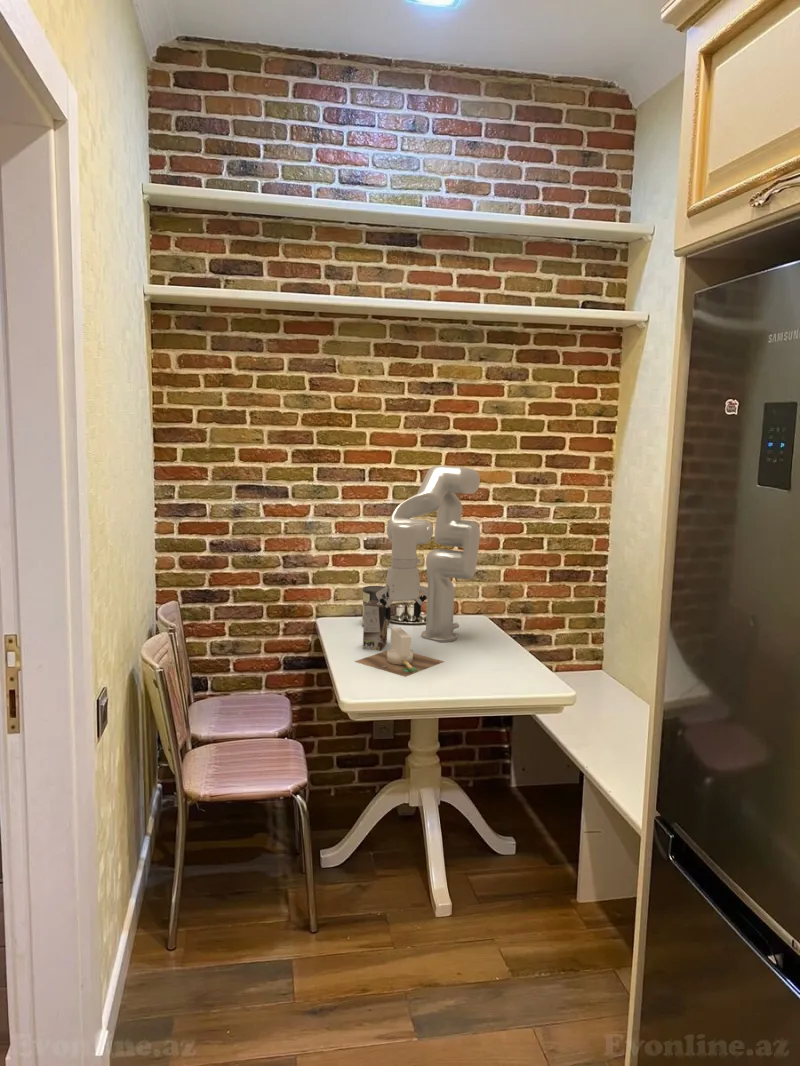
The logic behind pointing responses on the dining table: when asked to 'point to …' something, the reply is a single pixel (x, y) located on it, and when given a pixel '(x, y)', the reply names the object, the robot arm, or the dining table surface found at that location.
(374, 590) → the coffee can
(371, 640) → the coffee box
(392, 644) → the dial knob
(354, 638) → the dining table surface
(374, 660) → the dial board
